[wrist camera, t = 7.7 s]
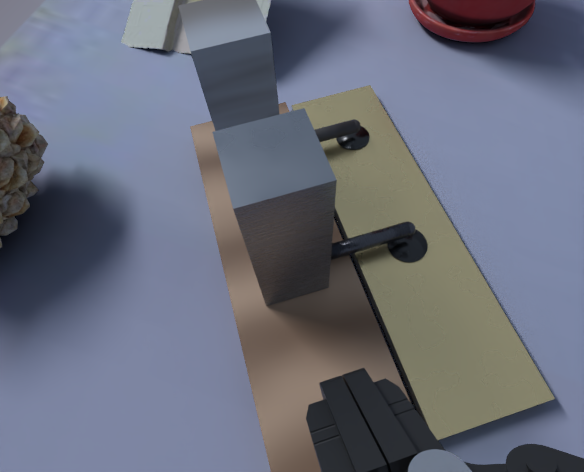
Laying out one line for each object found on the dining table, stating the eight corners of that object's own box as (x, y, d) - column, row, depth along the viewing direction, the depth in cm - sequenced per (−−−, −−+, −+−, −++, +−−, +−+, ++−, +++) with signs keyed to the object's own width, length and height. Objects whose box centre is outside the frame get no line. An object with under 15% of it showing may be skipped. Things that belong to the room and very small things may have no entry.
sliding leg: (426, 257, 25) (494, 136, 15) (266, 306, 24) (233, 209, 14) (399, 207, 27) (445, 71, 17) (250, 250, 26) (212, 131, 16)
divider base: (496, 418, 22) (678, 382, 11) (279, 494, 21) (237, 540, 10) (336, 103, 34) (345, -63, 23) (195, 139, 33) (135, -16, 22)
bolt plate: (545, 401, 22) (556, 398, 21) (430, 441, 21) (435, 441, 20) (368, 94, 34) (370, 84, 33) (292, 114, 34) (291, 104, 33)
